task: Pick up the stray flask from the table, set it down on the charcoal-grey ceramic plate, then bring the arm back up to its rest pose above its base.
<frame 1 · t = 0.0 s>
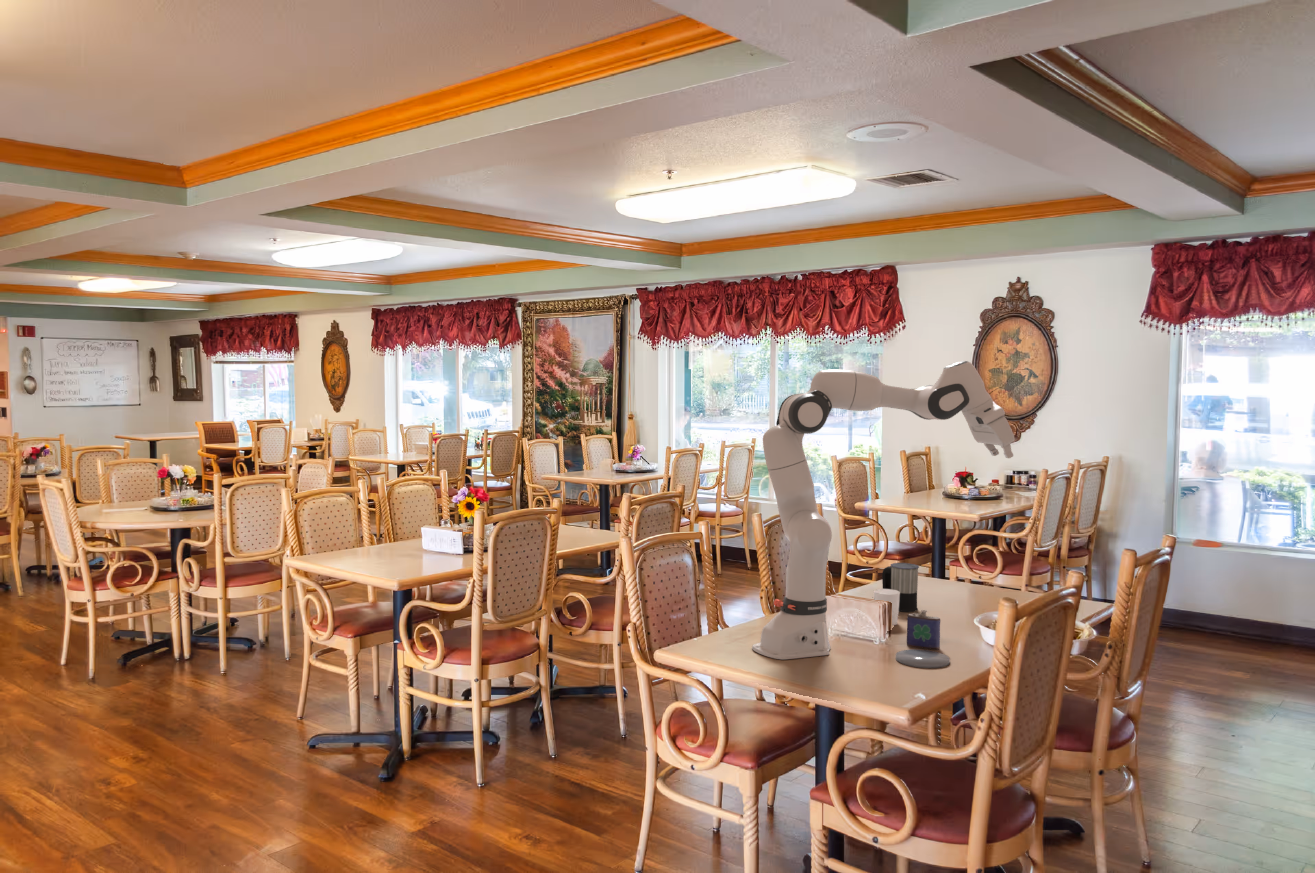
hand: (1002, 456, 260), 54 cm above the table, tool tilted 30°, fingers open, 8 cm apart
milk frother: (892, 610, 306), on the table
white cup: (886, 623, 288), on the table
plate: (922, 660, 248), on the table
flask: (922, 647, 261), on the table
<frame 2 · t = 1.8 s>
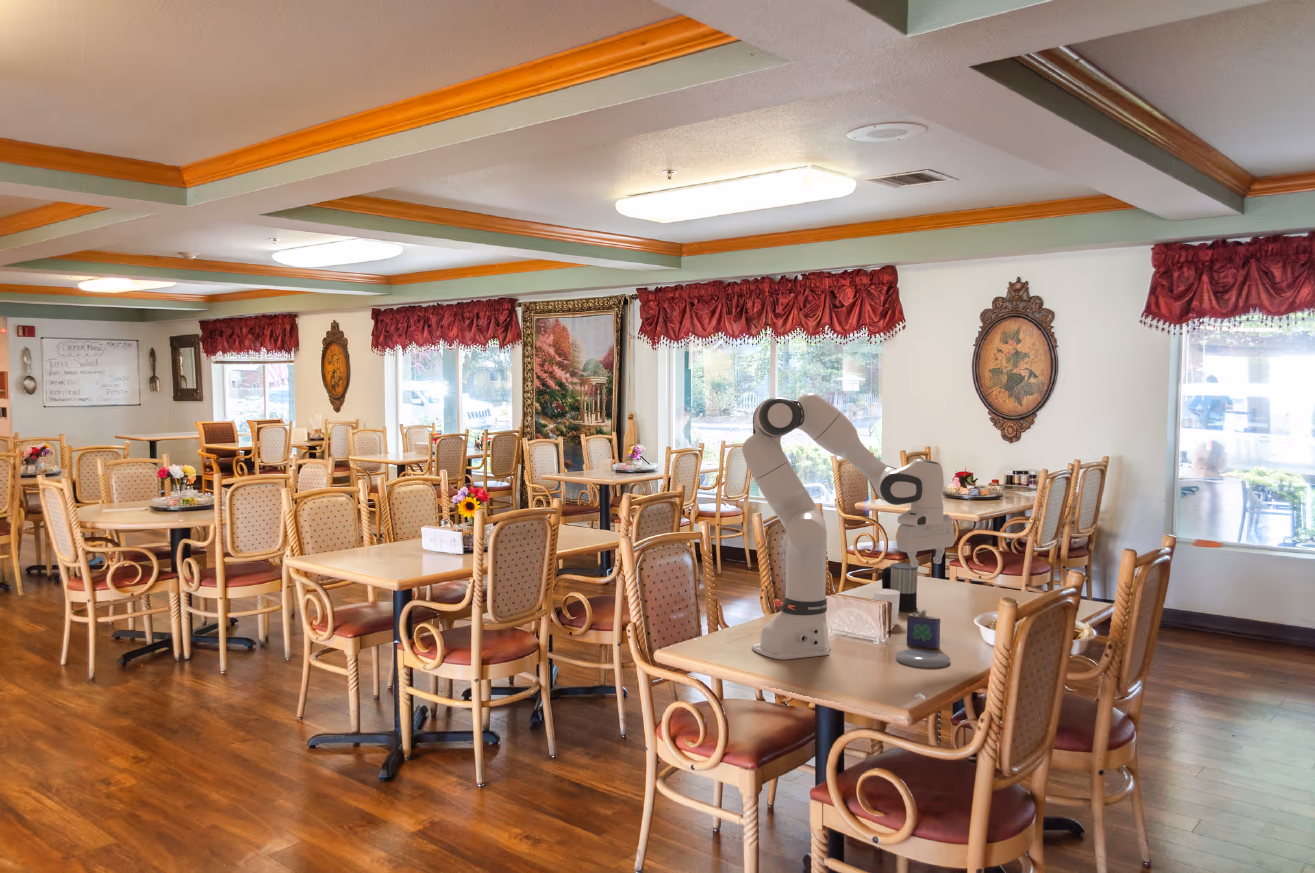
hand: (926, 564, 260), 23 cm above the table, tool pointing down, fingers open, 8 cm apart
nothing on the table moved.
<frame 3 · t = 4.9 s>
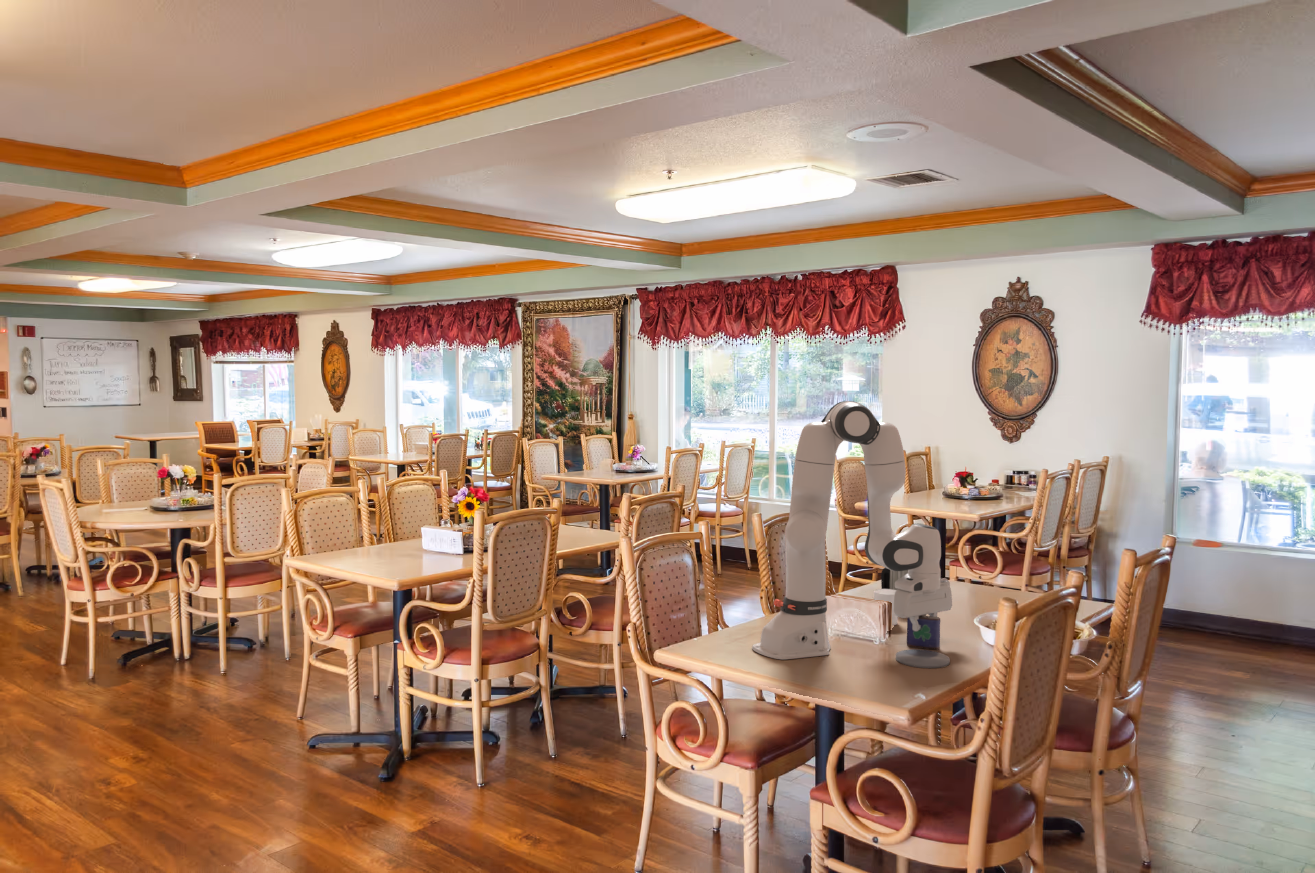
hand: (923, 629, 261), 5 cm above the table, tool pointing down, fingers closed on flask, 4 cm apart
flask: (922, 647, 261), on the table, touching gripper
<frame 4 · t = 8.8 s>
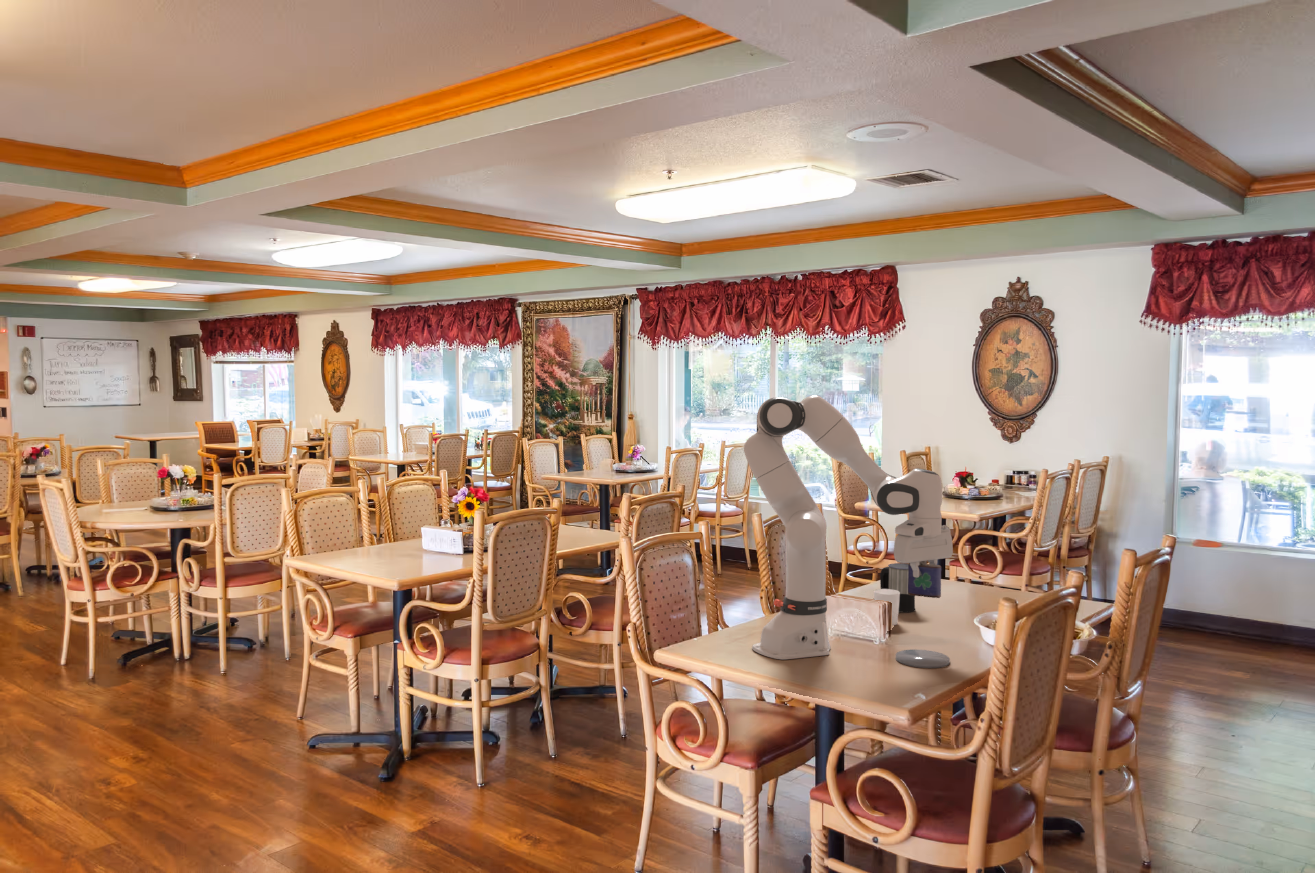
hand: (923, 576, 257), 21 cm above the table, tool pointing down, fingers closed on flask, 4 cm apart
flask: (923, 596, 257), point 15 cm above the table, touching gripper
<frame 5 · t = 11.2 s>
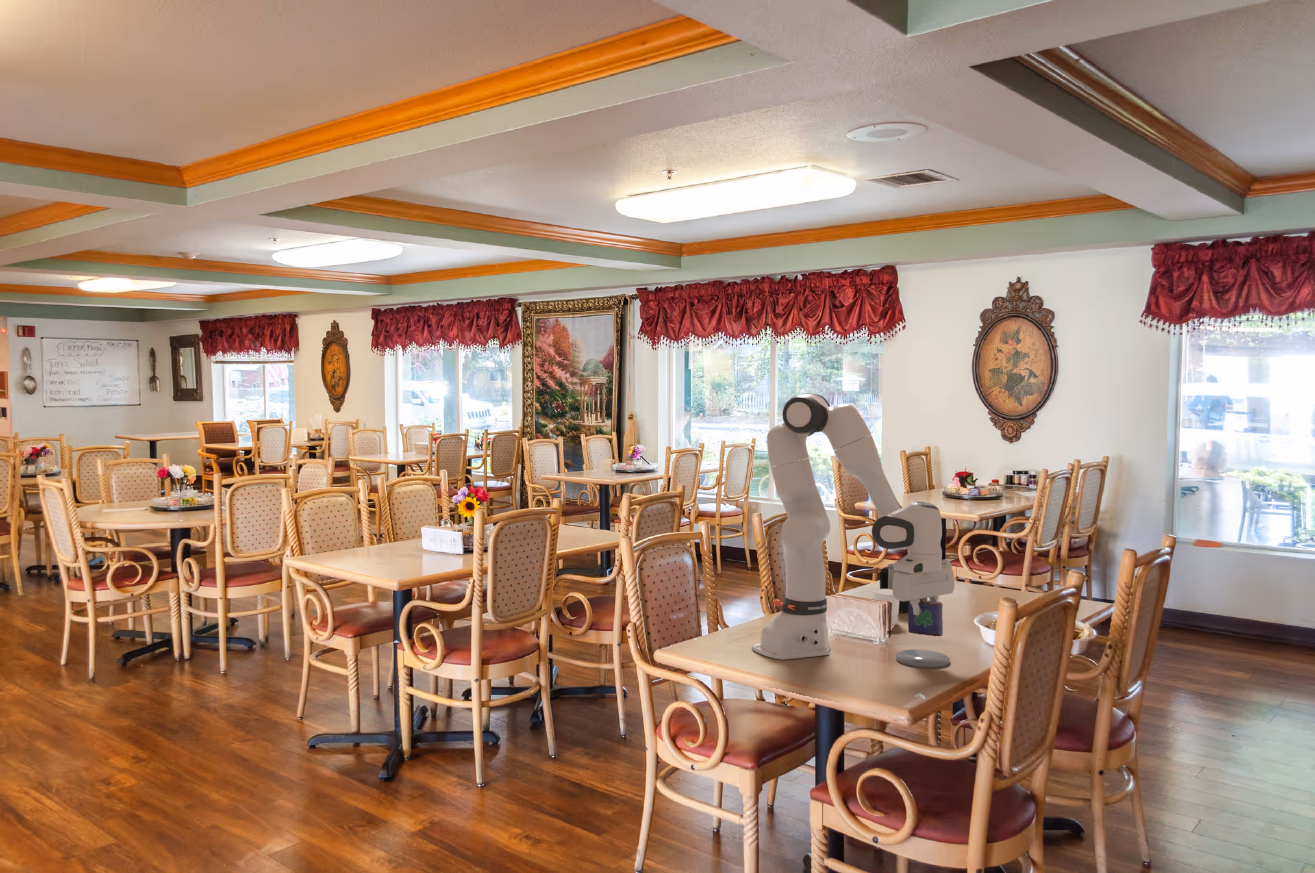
hand: (924, 613, 247), 13 cm above the table, tool pointing down, fingers closed on flask, 4 cm apart
flask: (925, 634, 247), point 7 cm above the table, touching gripper
when the fingers open (7 cm above the table, at t = 13.0 s): flask stays where it is, resting on plate.
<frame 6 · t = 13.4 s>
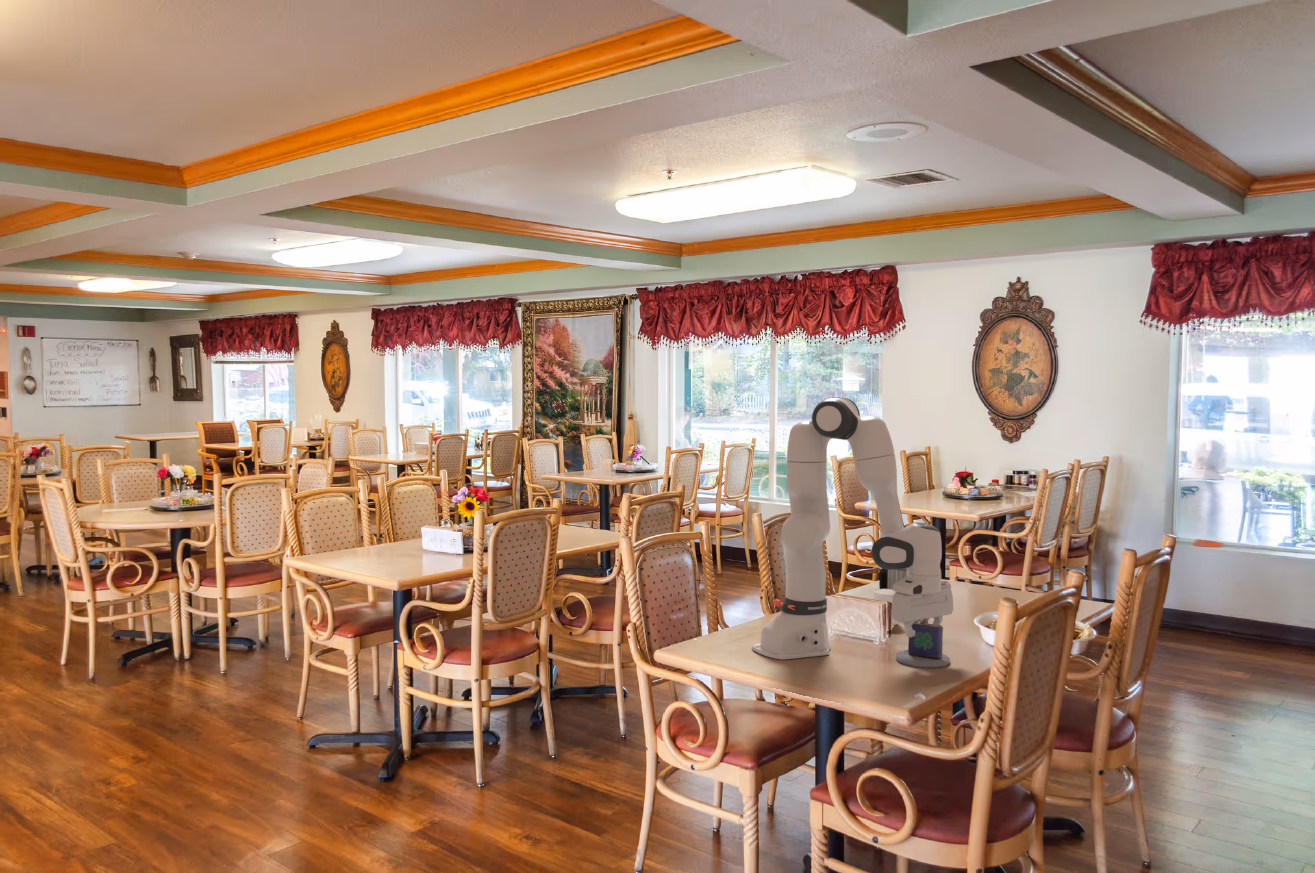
hand: (922, 634, 248), 7 cm above the table, tool pointing down, fingers open, 8 cm apart
flask: (924, 657, 248), point 1 cm above the table, touching plate
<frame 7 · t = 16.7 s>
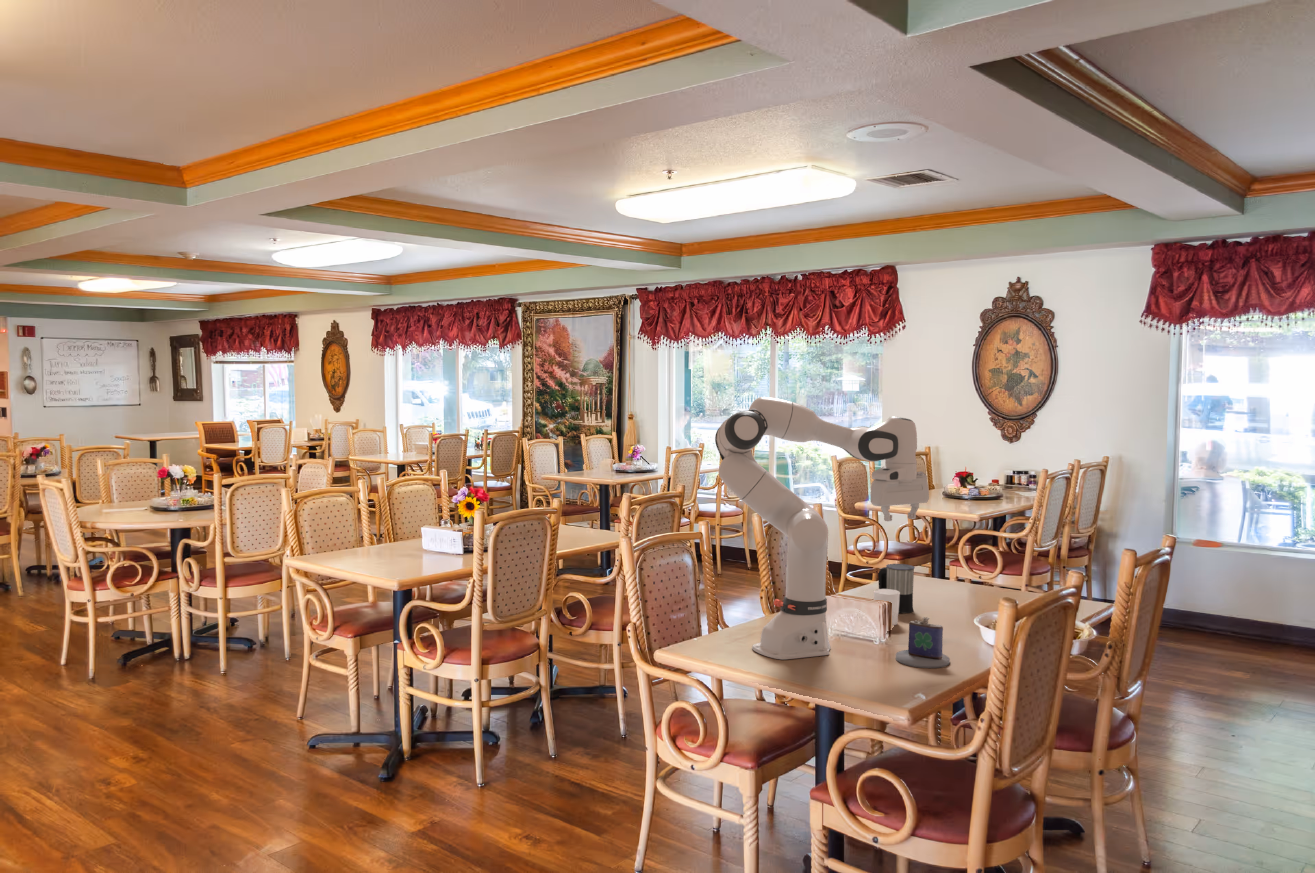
hand: (900, 519, 268), 35 cm above the table, tool pointing down, fingers open, 8 cm apart
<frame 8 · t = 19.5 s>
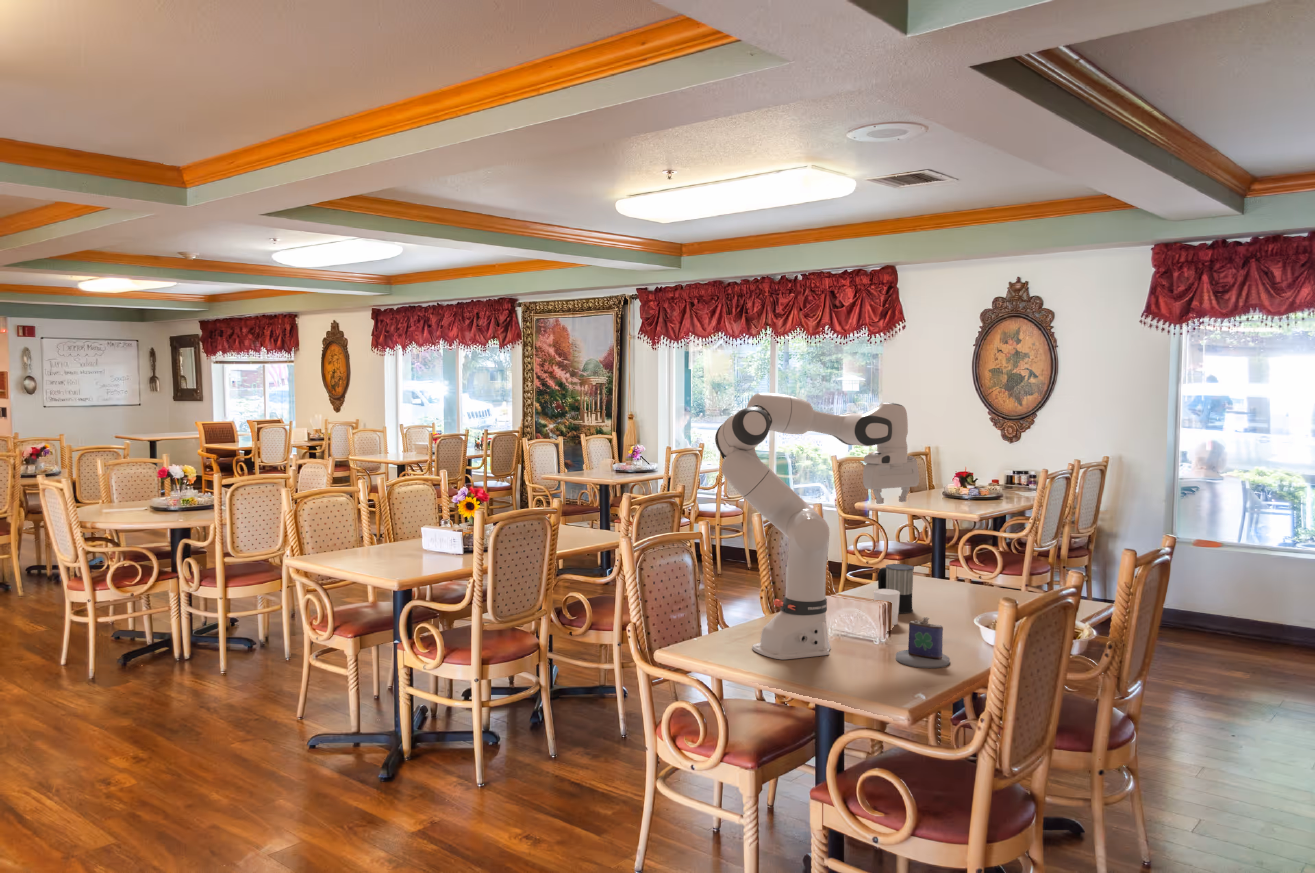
hand: (891, 502, 275), 39 cm above the table, tool pointing down, fingers open, 8 cm apart
at the end: flask inside the target area on the plate (0.7 cm from its centre), point 0.8 cm above the plate's base; flask tilted 0°; the gripper is holding nothing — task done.
